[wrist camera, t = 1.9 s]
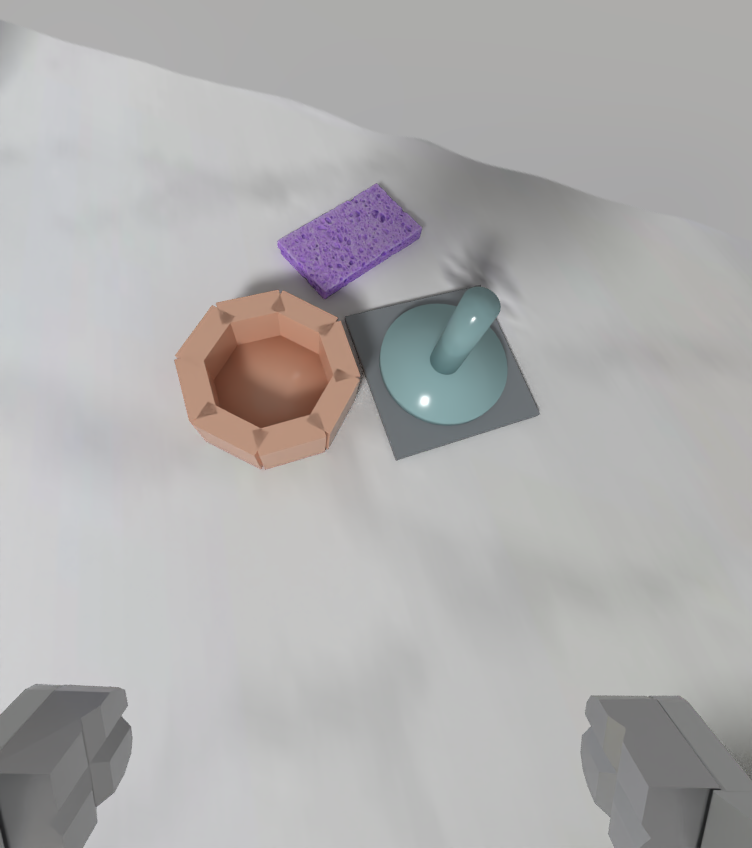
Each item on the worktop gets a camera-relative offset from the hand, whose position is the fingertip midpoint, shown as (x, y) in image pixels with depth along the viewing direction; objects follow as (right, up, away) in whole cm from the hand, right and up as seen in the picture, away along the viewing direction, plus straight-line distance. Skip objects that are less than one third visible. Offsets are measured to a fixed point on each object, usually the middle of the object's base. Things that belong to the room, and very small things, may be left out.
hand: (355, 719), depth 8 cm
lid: (+6, +11, +33) cm, 35 cm away
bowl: (-8, +8, +31) cm, 33 cm away
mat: (+6, +10, +33) cm, 35 cm away
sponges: (-2, +23, +37) cm, 43 cm away
